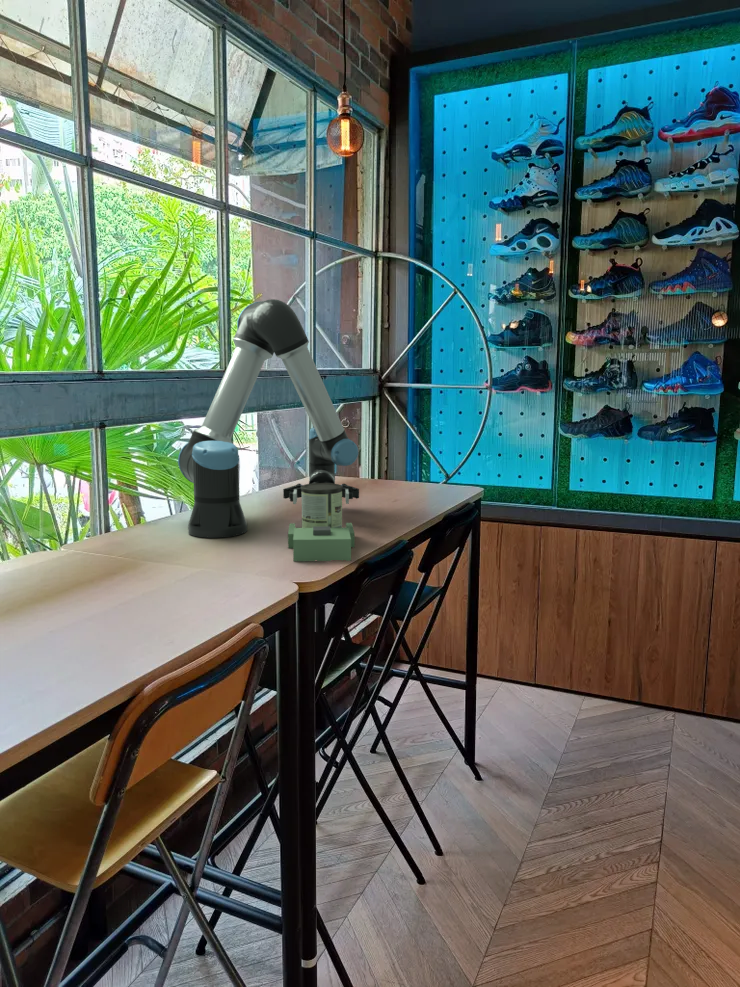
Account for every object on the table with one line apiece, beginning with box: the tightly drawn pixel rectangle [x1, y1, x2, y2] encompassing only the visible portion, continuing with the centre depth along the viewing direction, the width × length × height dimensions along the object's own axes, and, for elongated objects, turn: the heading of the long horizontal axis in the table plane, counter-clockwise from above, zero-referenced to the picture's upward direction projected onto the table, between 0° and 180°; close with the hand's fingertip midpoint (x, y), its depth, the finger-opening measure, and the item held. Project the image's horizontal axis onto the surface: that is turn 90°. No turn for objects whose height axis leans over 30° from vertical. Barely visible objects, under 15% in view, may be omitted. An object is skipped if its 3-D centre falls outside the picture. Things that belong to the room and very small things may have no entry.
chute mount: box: [287, 522, 356, 562], centre depth 178 cm, size 16×24×6 cm, turn 5°
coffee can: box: [301, 483, 343, 528], centre depth 184 cm, size 10×10×14 cm
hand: (321, 498), depth 190 cm, fingers open, 13 cm apart
